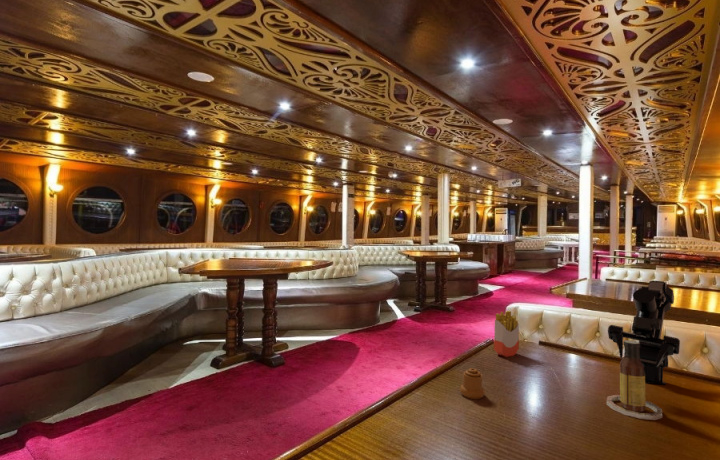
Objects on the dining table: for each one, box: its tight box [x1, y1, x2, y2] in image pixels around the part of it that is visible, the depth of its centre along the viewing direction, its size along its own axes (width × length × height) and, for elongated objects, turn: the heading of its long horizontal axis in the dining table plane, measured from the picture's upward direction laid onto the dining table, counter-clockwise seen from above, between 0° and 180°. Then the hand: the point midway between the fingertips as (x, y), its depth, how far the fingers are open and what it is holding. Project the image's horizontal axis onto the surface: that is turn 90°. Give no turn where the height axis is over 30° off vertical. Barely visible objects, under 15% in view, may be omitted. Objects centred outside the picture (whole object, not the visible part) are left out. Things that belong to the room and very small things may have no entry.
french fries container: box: [493, 310, 520, 358], centre depth 164 cm, size 5×11×18 cm, turn 122°
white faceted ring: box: [606, 394, 663, 421], centre depth 115 cm, size 13×13×1 cm
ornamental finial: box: [459, 367, 486, 400], centre depth 121 cm, size 8×8×8 cm
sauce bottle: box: [619, 339, 647, 413], centre depth 115 cm, size 7×6×20 cm
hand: (638, 361), depth 121 cm, fingers open, 9 cm apart
